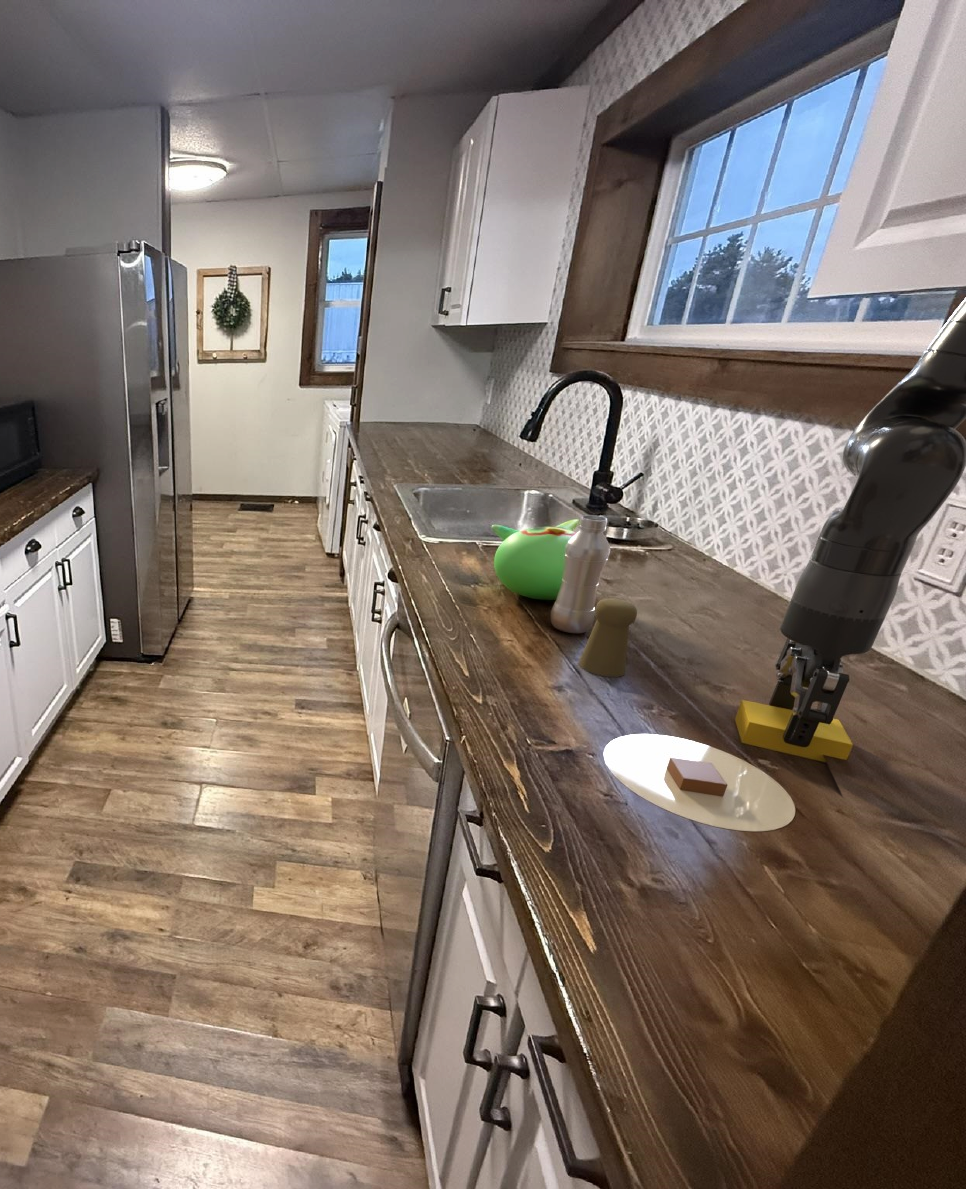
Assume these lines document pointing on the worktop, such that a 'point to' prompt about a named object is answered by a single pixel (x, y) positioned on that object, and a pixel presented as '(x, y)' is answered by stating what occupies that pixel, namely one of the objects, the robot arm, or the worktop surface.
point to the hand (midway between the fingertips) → (786, 726)
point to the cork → (609, 638)
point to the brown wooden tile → (696, 776)
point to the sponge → (769, 725)
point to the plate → (742, 807)
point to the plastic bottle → (581, 576)
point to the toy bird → (533, 559)
